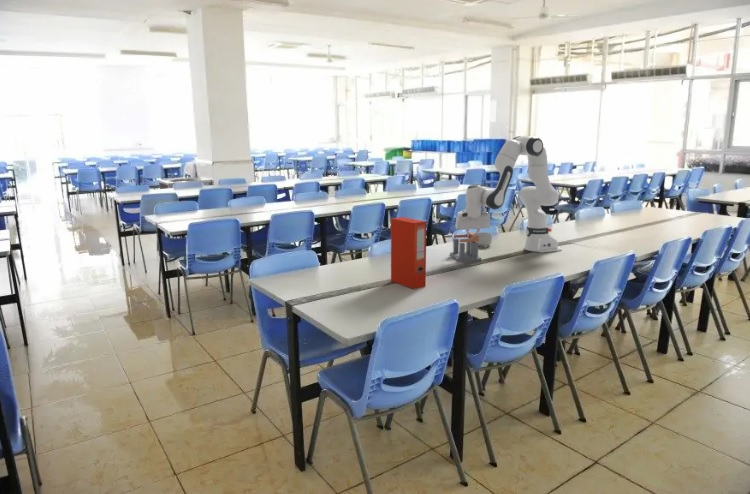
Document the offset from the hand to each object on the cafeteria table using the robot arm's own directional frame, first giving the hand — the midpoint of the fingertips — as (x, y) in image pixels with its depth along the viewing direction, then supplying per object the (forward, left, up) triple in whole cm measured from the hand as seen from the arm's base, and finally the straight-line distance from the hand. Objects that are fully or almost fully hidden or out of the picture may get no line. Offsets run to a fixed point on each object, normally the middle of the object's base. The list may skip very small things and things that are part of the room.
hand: (472, 236), depth 307 cm
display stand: (+4, 0, -13) cm, 13 cm away
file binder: (+47, +47, -13) cm, 68 cm away
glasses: (+4, 0, -2) cm, 4 cm away
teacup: (-15, -29, -13) cm, 35 cm away
